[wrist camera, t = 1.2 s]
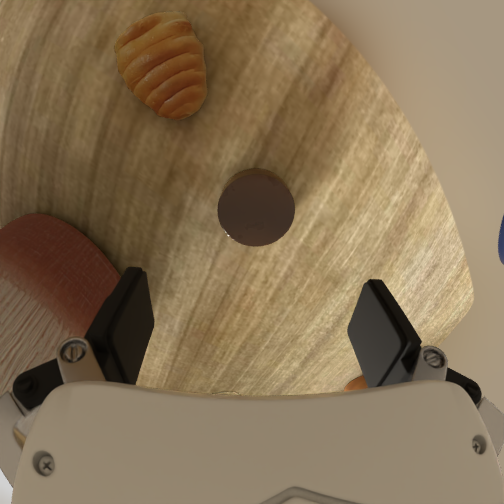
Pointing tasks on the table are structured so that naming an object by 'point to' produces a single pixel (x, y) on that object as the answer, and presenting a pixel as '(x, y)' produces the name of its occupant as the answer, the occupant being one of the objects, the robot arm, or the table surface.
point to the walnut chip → (255, 207)
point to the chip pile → (356, 384)
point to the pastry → (164, 64)
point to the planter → (46, 290)
